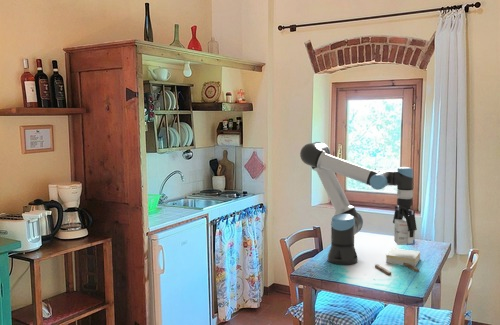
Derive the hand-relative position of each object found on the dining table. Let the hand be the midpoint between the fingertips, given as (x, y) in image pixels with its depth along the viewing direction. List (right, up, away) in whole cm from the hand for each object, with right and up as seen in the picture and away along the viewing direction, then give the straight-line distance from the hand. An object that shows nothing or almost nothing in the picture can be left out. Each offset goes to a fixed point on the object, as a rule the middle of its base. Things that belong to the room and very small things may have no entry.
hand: (404, 240), depth 236 cm
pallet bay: (-8, -12, -12) cm, 18 cm away
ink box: (0, -1, 0) cm, 2 cm away
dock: (0, -11, +1) cm, 11 cm away
